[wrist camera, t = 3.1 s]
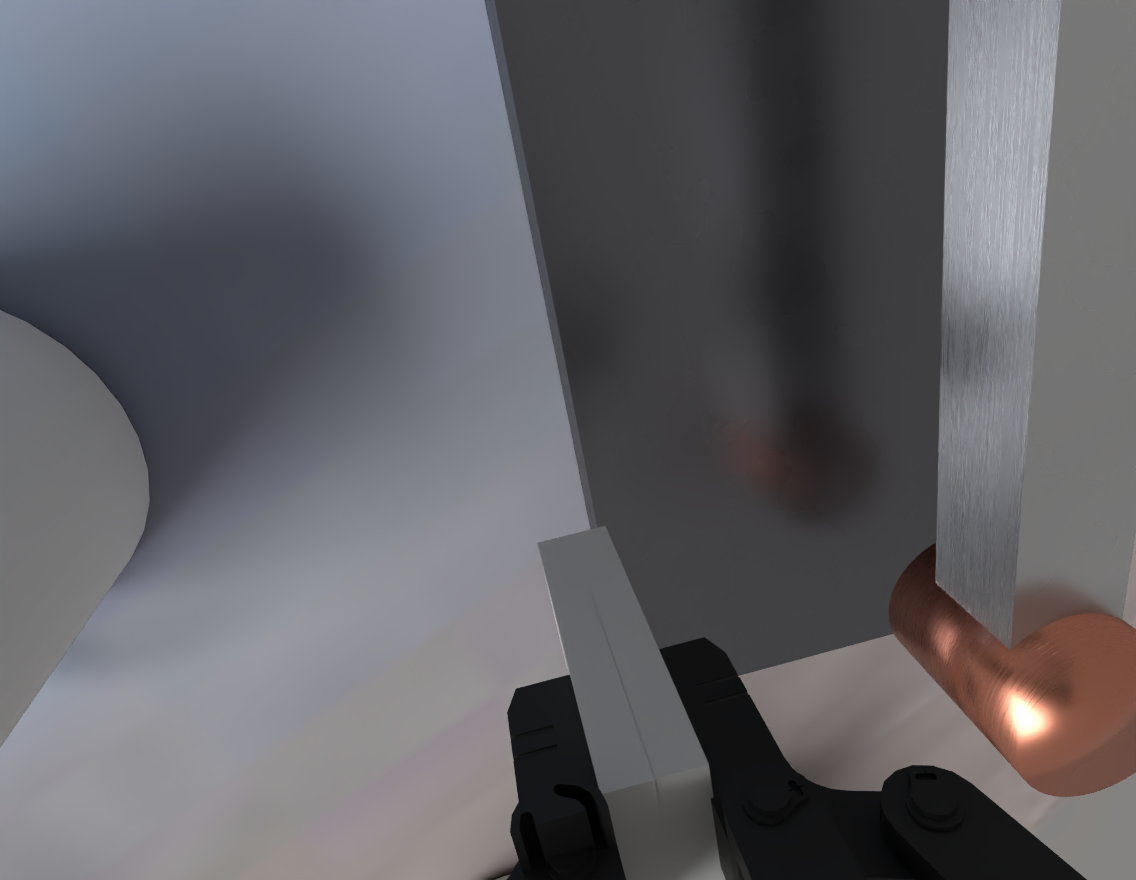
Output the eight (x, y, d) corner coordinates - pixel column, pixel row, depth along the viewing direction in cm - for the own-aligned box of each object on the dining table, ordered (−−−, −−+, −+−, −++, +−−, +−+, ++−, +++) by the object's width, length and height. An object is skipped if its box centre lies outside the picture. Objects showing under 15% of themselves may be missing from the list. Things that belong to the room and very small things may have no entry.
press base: (314, -849, 12) (209, -1728, 6) (1236, -941, 13) (1840, -1736, 7) (616, 660, 24) (672, 820, 19) (1070, 540, 25) (1248, 656, 20)
